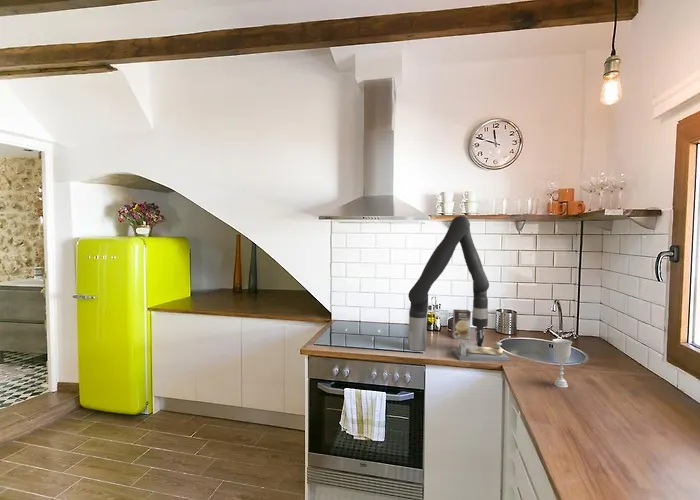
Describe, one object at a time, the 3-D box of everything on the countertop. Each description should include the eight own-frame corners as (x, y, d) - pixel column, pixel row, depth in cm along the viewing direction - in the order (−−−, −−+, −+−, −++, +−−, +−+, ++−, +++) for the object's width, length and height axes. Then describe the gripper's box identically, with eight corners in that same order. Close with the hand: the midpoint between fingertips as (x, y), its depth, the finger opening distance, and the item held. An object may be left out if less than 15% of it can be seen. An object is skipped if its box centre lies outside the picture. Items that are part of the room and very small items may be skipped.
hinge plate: (460, 360, 187) (460, 345, 186) (452, 351, 201) (452, 337, 200) (509, 360, 187) (510, 345, 187) (498, 351, 201) (498, 337, 201)
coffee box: (454, 338, 225) (454, 311, 224) (452, 335, 231) (452, 309, 231) (470, 339, 224) (470, 311, 223) (467, 336, 231) (468, 309, 230)
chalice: (560, 389, 153) (561, 344, 152) (547, 382, 160) (548, 339, 159) (575, 387, 155) (576, 342, 154) (561, 381, 162) (563, 338, 161)
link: (501, 353, 192) (502, 348, 192) (503, 355, 188) (503, 350, 188) (464, 350, 197) (464, 345, 197) (464, 352, 193) (464, 347, 193)
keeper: (462, 360, 186) (462, 345, 186) (457, 354, 195) (457, 340, 195) (477, 360, 186) (477, 345, 186) (471, 354, 195) (471, 340, 195)
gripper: (470, 313, 203) (470, 346, 204) (473, 319, 190) (472, 353, 191) (485, 314, 201) (484, 347, 202) (489, 319, 188) (488, 354, 189)
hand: (479, 350), depth 196 cm, fingers closed
